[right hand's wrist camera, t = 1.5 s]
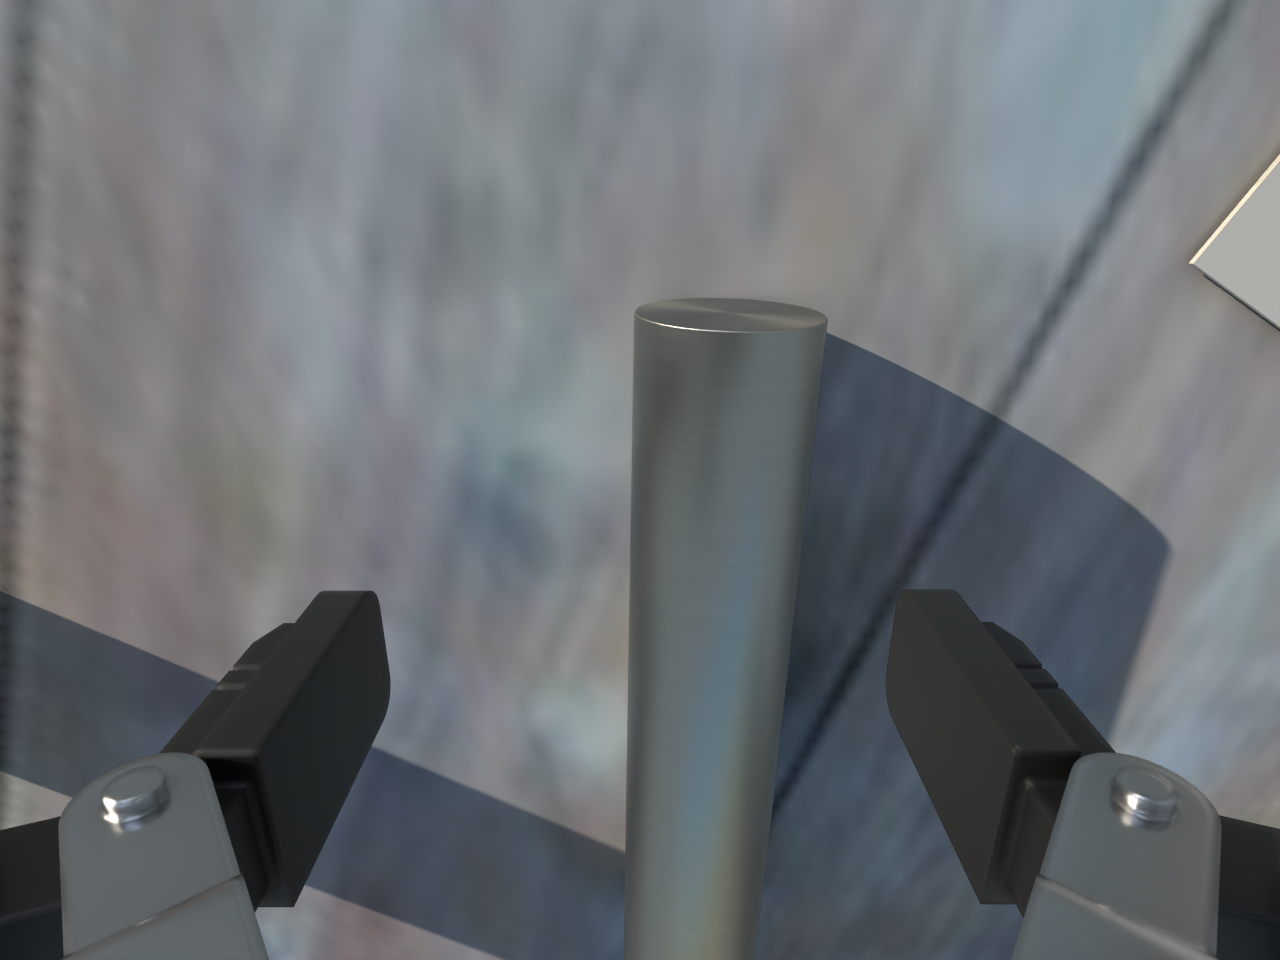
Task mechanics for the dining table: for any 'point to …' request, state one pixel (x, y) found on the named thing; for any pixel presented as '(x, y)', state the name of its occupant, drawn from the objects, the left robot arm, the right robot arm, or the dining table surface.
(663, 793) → the rod
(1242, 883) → the right robot arm
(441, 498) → the dining table surface
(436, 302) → the dining table surface
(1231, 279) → the invitation card
